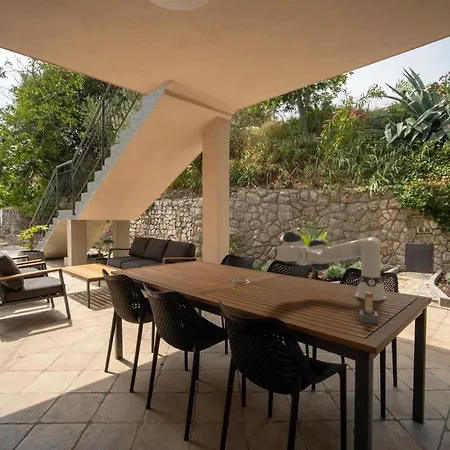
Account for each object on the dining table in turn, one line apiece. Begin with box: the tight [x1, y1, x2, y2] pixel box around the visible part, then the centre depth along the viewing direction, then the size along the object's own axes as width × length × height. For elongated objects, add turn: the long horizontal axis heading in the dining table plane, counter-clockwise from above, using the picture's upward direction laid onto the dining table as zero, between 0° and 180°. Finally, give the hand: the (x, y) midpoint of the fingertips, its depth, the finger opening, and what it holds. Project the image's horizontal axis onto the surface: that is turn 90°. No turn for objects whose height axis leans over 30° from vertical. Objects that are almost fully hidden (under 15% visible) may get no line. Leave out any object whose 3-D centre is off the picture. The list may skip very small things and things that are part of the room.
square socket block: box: [358, 309, 379, 325], centre depth 162 cm, size 8×8×4 cm
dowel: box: [364, 292, 374, 315], centre depth 161 cm, size 4×4×13 cm
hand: (331, 255), depth 169 cm, fingers open, 8 cm apart
